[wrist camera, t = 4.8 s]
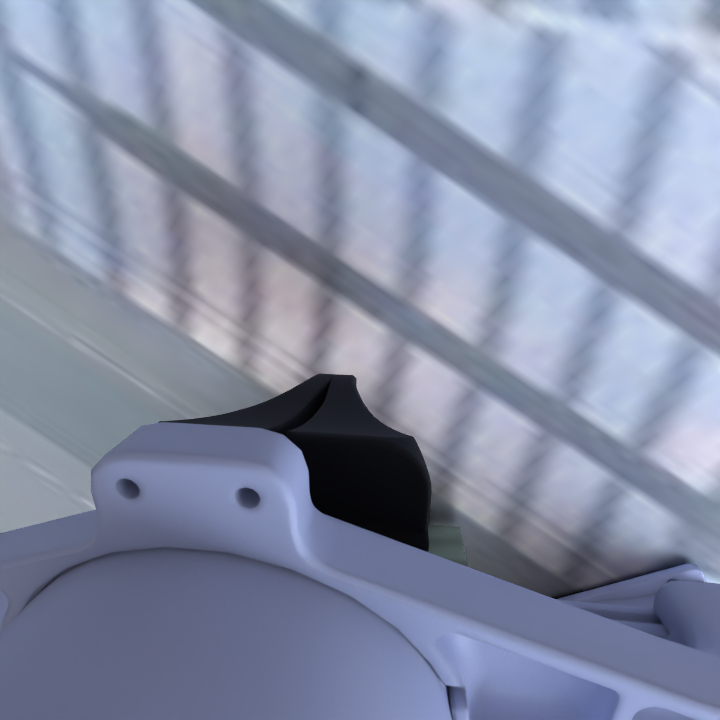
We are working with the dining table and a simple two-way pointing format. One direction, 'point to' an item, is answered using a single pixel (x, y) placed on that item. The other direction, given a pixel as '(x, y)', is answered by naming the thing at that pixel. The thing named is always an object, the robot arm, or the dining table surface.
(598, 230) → the dining table surface
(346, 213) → the dining table surface
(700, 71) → the dining table surface
